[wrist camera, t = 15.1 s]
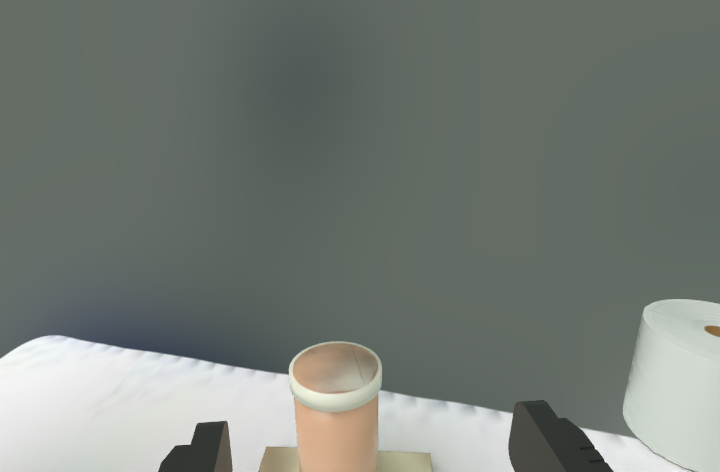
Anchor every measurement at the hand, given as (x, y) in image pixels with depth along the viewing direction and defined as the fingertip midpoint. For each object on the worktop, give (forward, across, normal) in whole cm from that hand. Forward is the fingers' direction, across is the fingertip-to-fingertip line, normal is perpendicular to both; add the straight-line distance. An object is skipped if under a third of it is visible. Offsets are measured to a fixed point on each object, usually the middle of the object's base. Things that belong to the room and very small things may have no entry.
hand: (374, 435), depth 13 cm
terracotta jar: (+13, 0, +19) cm, 23 cm away
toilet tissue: (+18, -32, +20) cm, 42 cm away
